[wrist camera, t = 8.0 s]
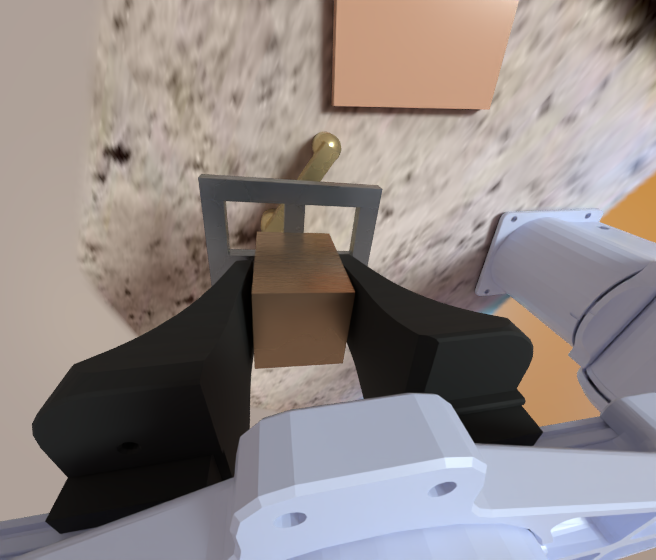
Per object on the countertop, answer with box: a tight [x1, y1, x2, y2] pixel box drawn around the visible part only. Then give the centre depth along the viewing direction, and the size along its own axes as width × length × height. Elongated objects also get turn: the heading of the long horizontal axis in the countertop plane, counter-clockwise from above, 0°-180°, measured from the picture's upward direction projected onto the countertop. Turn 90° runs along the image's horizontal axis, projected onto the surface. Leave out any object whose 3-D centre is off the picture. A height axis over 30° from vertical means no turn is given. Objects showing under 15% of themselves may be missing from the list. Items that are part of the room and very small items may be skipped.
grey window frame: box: [198, 174, 382, 369], centre depth 11 cm, size 7×7×5 cm
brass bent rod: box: [261, 132, 341, 232], centre depth 20 cm, size 6×12×2 cm, turn 179°
